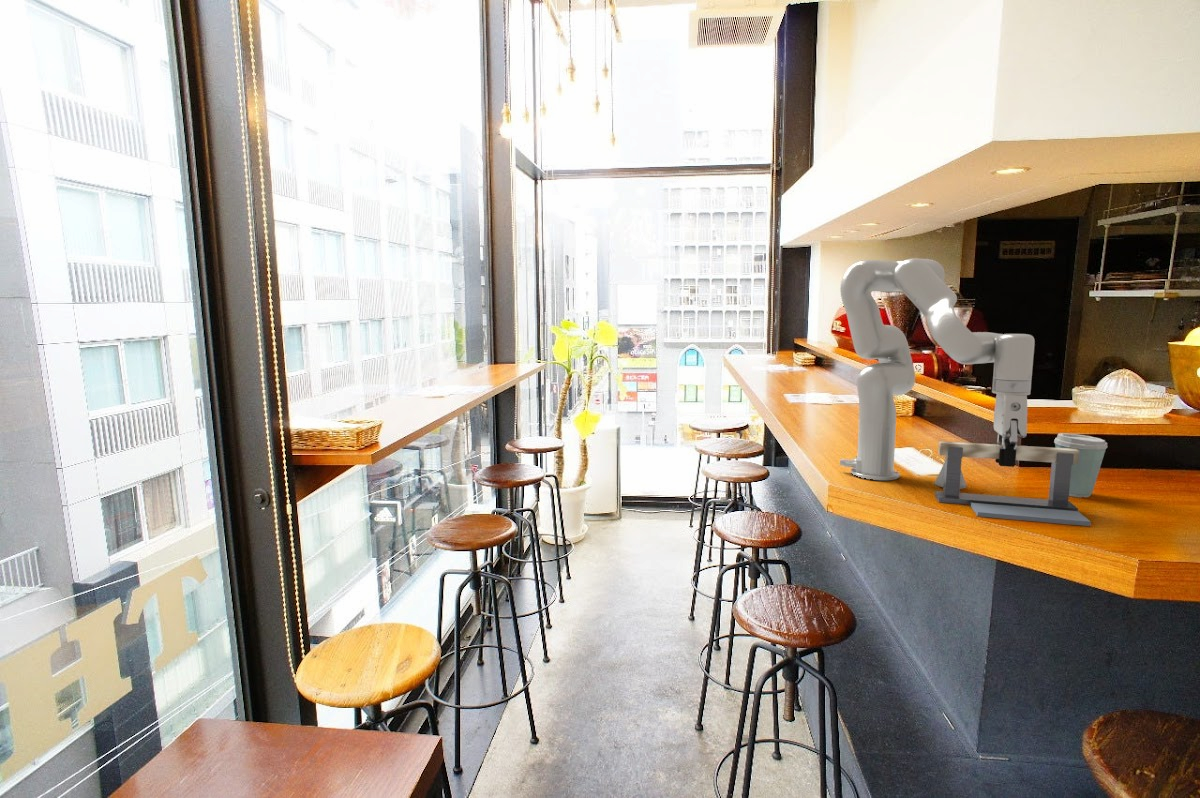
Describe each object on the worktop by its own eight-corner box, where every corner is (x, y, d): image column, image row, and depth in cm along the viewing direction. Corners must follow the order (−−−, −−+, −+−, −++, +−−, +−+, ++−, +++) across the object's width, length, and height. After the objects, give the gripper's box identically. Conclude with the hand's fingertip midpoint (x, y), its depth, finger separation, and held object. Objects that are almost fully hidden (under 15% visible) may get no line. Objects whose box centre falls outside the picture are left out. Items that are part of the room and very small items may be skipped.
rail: (939, 455, 153) (940, 443, 153) (938, 453, 156) (939, 441, 155) (1078, 464, 144) (1079, 451, 143) (1074, 461, 146) (1075, 448, 146)
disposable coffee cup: (1081, 488, 164) (1086, 431, 162) (1114, 500, 153) (1120, 439, 151) (1039, 488, 164) (1044, 431, 162) (1070, 500, 153) (1076, 439, 151)
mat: (977, 516, 142) (977, 512, 142) (970, 506, 149) (971, 502, 149) (1090, 526, 135) (1090, 521, 135) (1077, 515, 142) (1078, 511, 142)
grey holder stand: (938, 502, 153) (942, 447, 151) (935, 495, 159) (938, 442, 157) (1077, 513, 144) (1082, 455, 142) (1068, 506, 149) (1073, 449, 147)
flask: (928, 484, 169) (930, 447, 168) (948, 481, 172) (950, 445, 171) (952, 491, 163) (954, 453, 161) (972, 488, 165) (975, 450, 164)
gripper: (1040, 391, 139) (1033, 474, 141) (1020, 384, 154) (1014, 458, 156) (1001, 390, 141) (994, 471, 144) (985, 383, 156) (979, 456, 159)
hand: (1005, 463), depth 150 cm, fingers closed on rail, 2 cm apart
